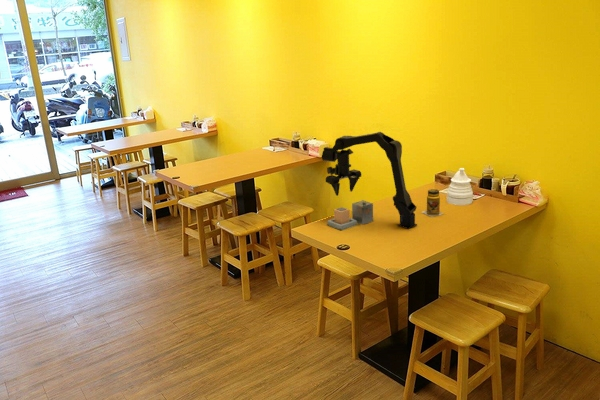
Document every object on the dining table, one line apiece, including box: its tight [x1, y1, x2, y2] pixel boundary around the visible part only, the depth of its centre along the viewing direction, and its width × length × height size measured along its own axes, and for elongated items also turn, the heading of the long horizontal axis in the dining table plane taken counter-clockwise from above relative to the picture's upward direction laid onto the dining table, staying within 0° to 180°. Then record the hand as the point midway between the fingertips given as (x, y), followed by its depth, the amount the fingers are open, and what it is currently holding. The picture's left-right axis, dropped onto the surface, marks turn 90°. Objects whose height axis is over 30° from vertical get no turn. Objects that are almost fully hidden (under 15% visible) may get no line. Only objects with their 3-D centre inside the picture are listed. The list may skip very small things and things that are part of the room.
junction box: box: [351, 199, 374, 226], centre depth 244 cm, size 8×7×10 cm
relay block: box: [333, 206, 350, 225], centre depth 240 cm, size 5×5×7 cm
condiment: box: [421, 188, 444, 217], centre depth 248 cm, size 7×8×12 cm
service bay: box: [327, 217, 358, 231], centre depth 242 cm, size 10×10×2 cm
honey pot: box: [446, 167, 474, 206], centre depth 262 cm, size 13×13×18 cm
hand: (344, 193), depth 249 cm, fingers open, 9 cm apart
